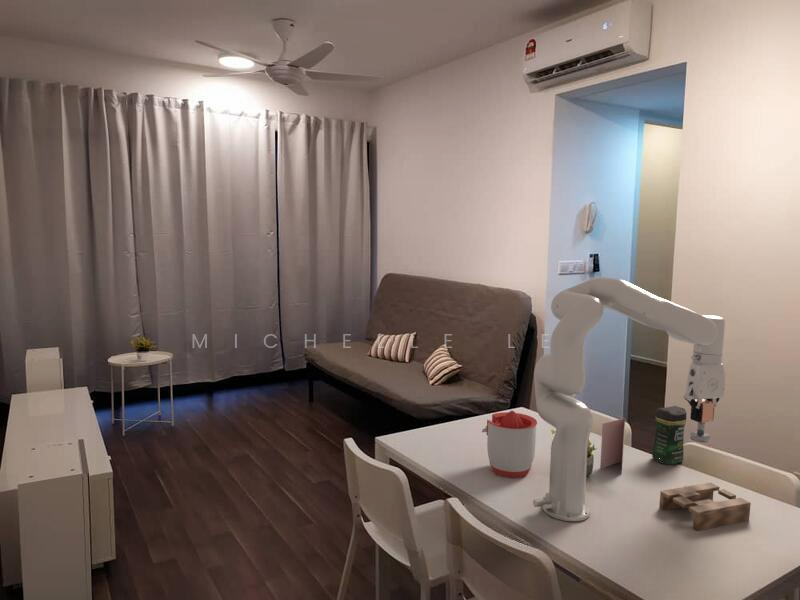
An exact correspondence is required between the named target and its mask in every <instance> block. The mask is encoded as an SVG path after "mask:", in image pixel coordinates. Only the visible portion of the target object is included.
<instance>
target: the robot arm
mask: <svg viewBox="0 0 800 600" xmlns="http://www.w3.org/2000/svg"><path fill="white" fill-rule="evenodd" d="M550 305H551V306H550V310H551V312H552V315H553V316H554V317H555V318H556V319H557V320H559V322H558V323H557V324H556V326H555V327H554V329H553V331H552V333H551V336H550V342H549V345H550V347H549V349H550V351H549V352H550V353H547V354H544V355H542V356H541V357H540V358H539V359H538V360H537V362H536V365H535V366H534V370H533V371H534V372H533V373H534V374H533V378H534V379H533V380H534V392H535V406H536V410H537V413H538V415H539V416H540V419H542V420H543V421H544V422H546V423H547V424H548V425H550V426H552V427H553V428H555V430H556V431H555V434H554V436H553V439H552V440H551V445H550V464H549V465H550V466H549V467H550V468H549V485H548V486H549V489H548V492H545V496H544V497H543V498H538V499H533V500H532V505H533V507H534V508H539V507H542V509H543V511H544V512H545V513H546V514H547V516H548V515H549V516H550V517H552V518H554V519H557V520H559V521H565V522H581V521H584V520H586V519H588V518H589V517H590V515H591V508H590V507H589V505H588V504H587V503H586V488H587V487H586V486H587V468H588V467H587V466H588V465H587V464H588V450H589V448H588V447H589V439H590V435H591V430H592V428H593V422H594V421H593V420H594V419H593V414H592V411H591V410H590V407H588V406H587V404H585V403H584V402H583V401H581V400H578V399H576V398H575V397H574V396H577V395H580V394H581V393H582V391H583V389H584V388H585V385H586V374H585V373H586V372H585V371H586V368H585V354H584V351H585V350H584V349H585V348H584V346H585V340H586V337H587V336H588V334H589V332H591V330H592V329H593V328H594V327H595V326H596V325H597V324H598V323H599V322H600V321H601V320H602V318H603V315H604V309H609V310H611V311H614V312H616V313H618V314H621V315H622V316H625V317H627V318H629V319H631V320H632V321H635V322H638V323H639V324H641V325H643V326H646V327H650V328H653V329H655V330H661V331H664V332H666V333H667V335H668V336H669V337H670V338H672V339H674V340H676V341H680V342H683V343H689V344H691V345H693V346H692V347H693V348H692V355H691V356H690V358H691V362H690V365H689V368H688V374H687V379H686V391H685V393H684V395H683V399H684V400H685V401H687V402H688V404H689V406H690V407H691V408H690V420H692V421H694V422H697V423H698V422H700V421H701V410H702V409H701V408H700V406H701V402H702V399H705V400H707V401H710V402H713V403H714V408H716V407H717V403H718V402H719V401H720V400H721V399H722V398H723V397H724V395H725V386H726V384H725V383H726V382H725V379H726V378H725V375H726V374H725V367H724V366H725V365H724V364H723V363H722V362H723V350H724V338H725V330H726V329H725V328H726V320H725V319H724V318H723V317H722V316H718V315H712V314H711V315H710V314H708V315H707V314H705V315H704V314H703V315H702V314H700V313H698V312H696V311H693V310H691V309H690V308H689V309H688V308H686V307H684V306H681V305H679V304H676V303H674V302H672V301H669V300H667V299H664V298H662V297H659V296H657V295H655V294H653V293H651V292H649V291H646V290H645V289H642V288H641V287H639V286H637V285H634V284H633V283H631V282H628V281H626V280H624V279H621V278H620V279H619V278H612V277H606V276H598V277H595V278H592V279H589V280H585V281H584V282H582V283H581V282H580V283H579V284H576V285H574V286H571V287H568V288H566V289H564V290H561V291H559V292H558V293H557V294H556V295H555V296H554V297H553V298H552V301H551V303H550ZM695 400H697V402H696V401H695ZM714 415H715V410H714V411H713V419H714Z"/></svg>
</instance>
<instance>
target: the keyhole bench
mask: <svg viewBox="0 0 800 600" xmlns="http://www.w3.org/2000/svg"><path fill="white" fill-rule="evenodd" d="M716 491H717V493H718V495H720V496H722V497H724V498H726V499H727V500H726V499H725V500H721V501H714V492H716ZM659 493H660V495H659V507H658V508H659V509H660V510H662V511H663V510H664V511H665V510H670V509H676V508H683V509H687V508H688V511H689V513H692V514H693V523H692V524H693V525H692V529H693V530H695V531H701V530H702V531H703V530H707V529H713V528H718V527H723V526H727V525H732V524H737V523H742V522H747V521H750V514H751V506H752V505H751V502H750V501H748V500H747V499H745V498H742V497H738V498H737V495H736V494H734V493H733V492H731V491H729V490H726V489H725V488H723V489H720V486H719V485H717V484H714V483H712V482H705V483H699V484H694V485H689V486H682V487H675V488H669V489H664V490H660V492H659Z"/></svg>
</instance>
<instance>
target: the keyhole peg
mask: <svg viewBox="0 0 800 600" xmlns="http://www.w3.org/2000/svg"><path fill="white" fill-rule="evenodd" d="M695 401H696V402H697V399H695ZM700 408H701V409H702V410H701V421H700V422H697V429H696V431H692V432H690V440H691V441H695V442H698V443H705V444H706V443H710V441H711V440H710V439H711V435H710V434H708V433H706V432H705V426H706V425H705V424H706V423H709V422H713V421H714V418H713V411H714V412H715V407H714V403H713V402H710V401H707V400H706V399H702V402H701V406H700Z"/></svg>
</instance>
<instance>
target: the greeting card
mask: <svg viewBox="0 0 800 600" xmlns="http://www.w3.org/2000/svg"><path fill="white" fill-rule="evenodd" d="M625 429H626V417H624V418H619V419H616V420H613V421H609V422H608V421H607V422H604V423H602V429H601V430H602V431H601V446H600V447H601V449H600V464H599V468H600V469H603V468H606V467H610V466H612V465H616V464H618V463H619V464H620V463H621V466H623V464H624V448H625V447H624V444H625V432H626V431H625ZM622 473H623V472H622V471H621V475H622Z"/></svg>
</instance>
